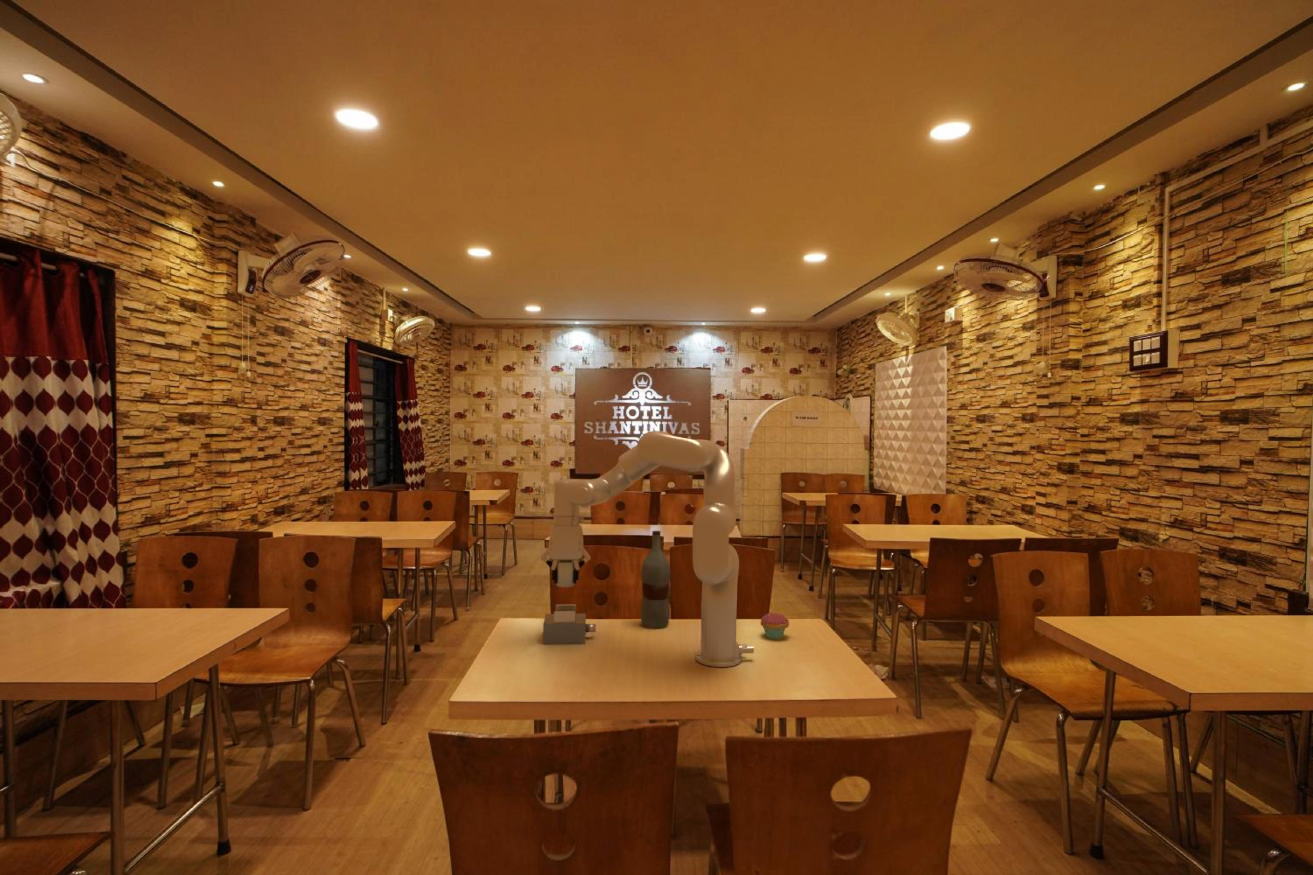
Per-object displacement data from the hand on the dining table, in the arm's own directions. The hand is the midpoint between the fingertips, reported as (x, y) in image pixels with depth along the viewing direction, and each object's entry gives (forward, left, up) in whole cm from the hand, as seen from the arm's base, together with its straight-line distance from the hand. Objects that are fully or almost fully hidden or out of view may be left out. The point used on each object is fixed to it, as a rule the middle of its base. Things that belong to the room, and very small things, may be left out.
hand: (565, 581), depth 186 cm
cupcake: (-63, +2, -17) cm, 65 cm away
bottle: (-28, -12, -17) cm, 35 cm away
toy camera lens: (0, 0, -1) cm, 1 cm away
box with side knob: (-2, -1, -17) cm, 17 cm away
